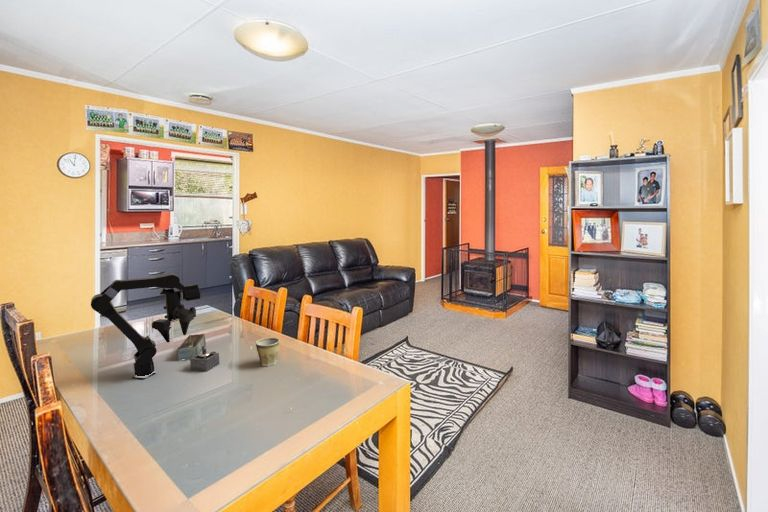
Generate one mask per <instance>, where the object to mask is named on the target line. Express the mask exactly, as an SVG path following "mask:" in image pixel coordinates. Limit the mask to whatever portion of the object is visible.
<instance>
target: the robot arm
mask: <svg viewBox="0 0 768 512" xmlns="http://www.w3.org/2000/svg"><path fill="white" fill-rule="evenodd" d="M148 288H149V289H150V288H159V289H161V290H160V291H159V292H158V294H160V295H164V301H165V305H164V306H163V309H164V310H165V311H166V315H164V319H162V318H159V319H156V320H153V321H152V322H151V329H154V330H157V331H158V332H159V334H160V335H161V336H162V338H163V339H164V340H165V342H166V343H170V339H171V338H170V337H171V336H170V330H171V329H172V326H171V324H172V323H174V322H177V321H179V325H180V328H181V329H180V330H181V332H182V335H183V336H186V335H187V334H188V333H187V332H188V330H189V325H190V323H191V322H192V321H194V319H195V318H196V317H197V310H196V309H197V308H196V307H194V306H192V307H189V308H185V305H184V304H183V303H182V300H184V301H185V302H190V301H197V300H201V291H200V288H199V284H198V283H194V284H189V285H185V284H183V283H181V280H180V278H179V277H178V275H177V274H175V273H173V272H169V273H165V274H160V275H157V276H153V277H144V278H130V279H128V278H127V279H115V280H113V281H112V282H111V284H109V285H108V286H107V287H106V288H104V290H103V291H101V292H100V293H97V294H95V295H94V296H92V298H91V301H90V307H91V309H92V310H94V311H95V312H96V313H98V314H100V315H101V316H103V317H105V318H106V319H108V320H109V321H110V322H111V323H112V324H113V325H114V326H115V327H116V328H117V330H119V331H120V332H121V333H122V334H124V336H125V337H126V338H127V339H128V340H129V341H130V342H132V344H133V345H134V347H135V349H136V350H137V351H136V352H135V353H134V355H133V359H134V363H133V371H134V375H137V376H145V375H149V374H151V373H152V372H153V371H155V365H154V364H155V363H154V359H153V358H154V356H156V354H157V348H156V346H157V345H156V343H155V342H156V341H155V340H153V339H151V337H150V336H149V335H146V336H143V335H142V334H141V333H139V332H138V331H137V330H136V329H135V327H134V326H133V325H131V324H130V323H129V322H128V321H127V320H126V319H125V317H123V316H122V315H121V313H119V311H117V309H116V307H115V306H114V305H115V304H113V302H112V301H113V300H114V298H115V297H116V296H118V294H119V293H120V292H121V291H127V290H137V289H138V290H139V289H148Z"/></svg>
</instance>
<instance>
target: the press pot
mask: <svg viewBox="0 0 768 512" xmlns="http://www.w3.org/2000/svg"><path fill="white" fill-rule="evenodd" d="M209 352H210V351H209ZM189 362H190V370H191V371H197V370H198V372H206V371H207V372H209V371H211V370H212V369H214V368H215V366H216V367H217V366H219V365H220V364H221V363H220V354H219V352H217V351H211V352H210V355H209V356H207V357H206V359H204V357H199V354H198V355H196V356H194V357H192V358H190V360H189ZM213 367H214V368H213Z"/></svg>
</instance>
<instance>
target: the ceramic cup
mask: <svg viewBox="0 0 768 512" xmlns="http://www.w3.org/2000/svg"><path fill="white" fill-rule="evenodd" d="M255 348H256V351H257V353H258V358H259V362H260V364H261V366H262V367H271V366H275V364H276V363H278V357H279V356H278V355H279V349H280V339H279V338H277V337H266V338H265V337H263V338H261V339H258V340H256V341H255Z"/></svg>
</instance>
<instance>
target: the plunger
mask: <svg viewBox="0 0 768 512" xmlns="http://www.w3.org/2000/svg"><path fill="white" fill-rule="evenodd" d="M209 355H210V351H207V346H206V345H205V346H202V351H201V353H200V354H199V357H204V359H206V357H207V356H209Z"/></svg>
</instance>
